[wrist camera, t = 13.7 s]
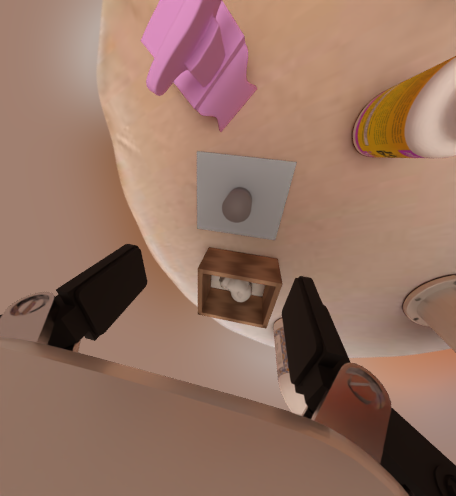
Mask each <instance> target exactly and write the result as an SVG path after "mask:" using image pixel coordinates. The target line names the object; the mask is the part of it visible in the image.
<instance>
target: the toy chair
mask: <svg viewBox="0 0 456 496" xmlns="http://www.w3.org/2000/svg"><path fill="white" fill-rule="evenodd" d="M141 42H142V43H143V44H144V45H145V47H146V48H147V49H148V50H149V52H150V53H151V54H152V56H153V57H154V60H153V62H152V65H151V67H150V70H149V73H148V76H147V80H146V83H147V87H148V89H149V90H150V91H152V92H153V93H154V94H156V95H159V96H160V95H163V94H164V93H165V92H166V91H167V90H168V88H169V87H170V86H171V84H172V83H173V82H174V83H175V85H176V86H177V87H178V88H179V90H180V91H181V92H182V94H183V95H184V96H185V98H186V99H187V100H188V101H189V103H190V104H191V105H192V106H193V108H194V109H196V110H197V111H198V112H199V113H200V114H201V115H204V116H214V117H216V118H217V120H218V125H219V130H220V132H222V130H223V129H224V128H225V127H226V126H227V124H228V123H229V122H230V121H231V120H232V118H233V117H234V116H235V115H236V114H237V112H238V111H239V110H240V109H241V108H242V106H243V105H244V104H245V103H246V102H247V100H248V99H249V98H250V97H251V96H252V94H253V93H254V92H255V91H256V90H257V87H256V86H255V85H253V84H250V83H249V82H248V81H247V78H246V69H247V61H248V49H247V46H246V44H245V38H244V35H243V33H242V31H241V30H240V28H239V27H238V25H237V23H236V22H235V20H234V18H233V17H232V15H231V14H230V12H229V11H228V9H227V7H226V6H225V4H224V3H223V1H222V0H160V1H159V3H158V5H157V7H156V9H155V11H154V13H153V15H152V17H151V19H150V21H149V23H148V25H147V27H146V30H145V32H144V34H143V37H142V39H141Z"/></svg>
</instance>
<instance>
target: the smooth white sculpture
mask: <svg viewBox="0 0 456 496" xmlns="http://www.w3.org/2000/svg"><path fill="white" fill-rule="evenodd" d="M219 281H220V284H221V287H225V288H227V289H228V290H229V291H230V292H231V296H232V297H233V299H234V300H235V301H237V302H244V301H246V300H248V299H249V297H250V296H251V293H252V287H251V285H250V284H249V282H248V281H242V280H237V279H231V278H226V277H220V279H219Z"/></svg>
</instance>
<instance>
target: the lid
mask: <svg viewBox="0 0 456 496" xmlns="http://www.w3.org/2000/svg"><path fill="white" fill-rule="evenodd" d="M296 163H297V162H291V161H282V160H273V159H264V158H255V157H246V156H236V155H227V154H218V153H209V152H200V151H197V228H198V229H204V230H211V231H217V232H224V233H230V234H237V235H243V236H250V237H257V238H263V239H270V240H275V239H276V236H277V232H278V228H279V225H280V221H281V217H282V214H283V210H284V207H285V203H286V199H287V196H288V192H289V188H290V185H291V181H292V177H293V174H294V170H295V167H296Z"/></svg>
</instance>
